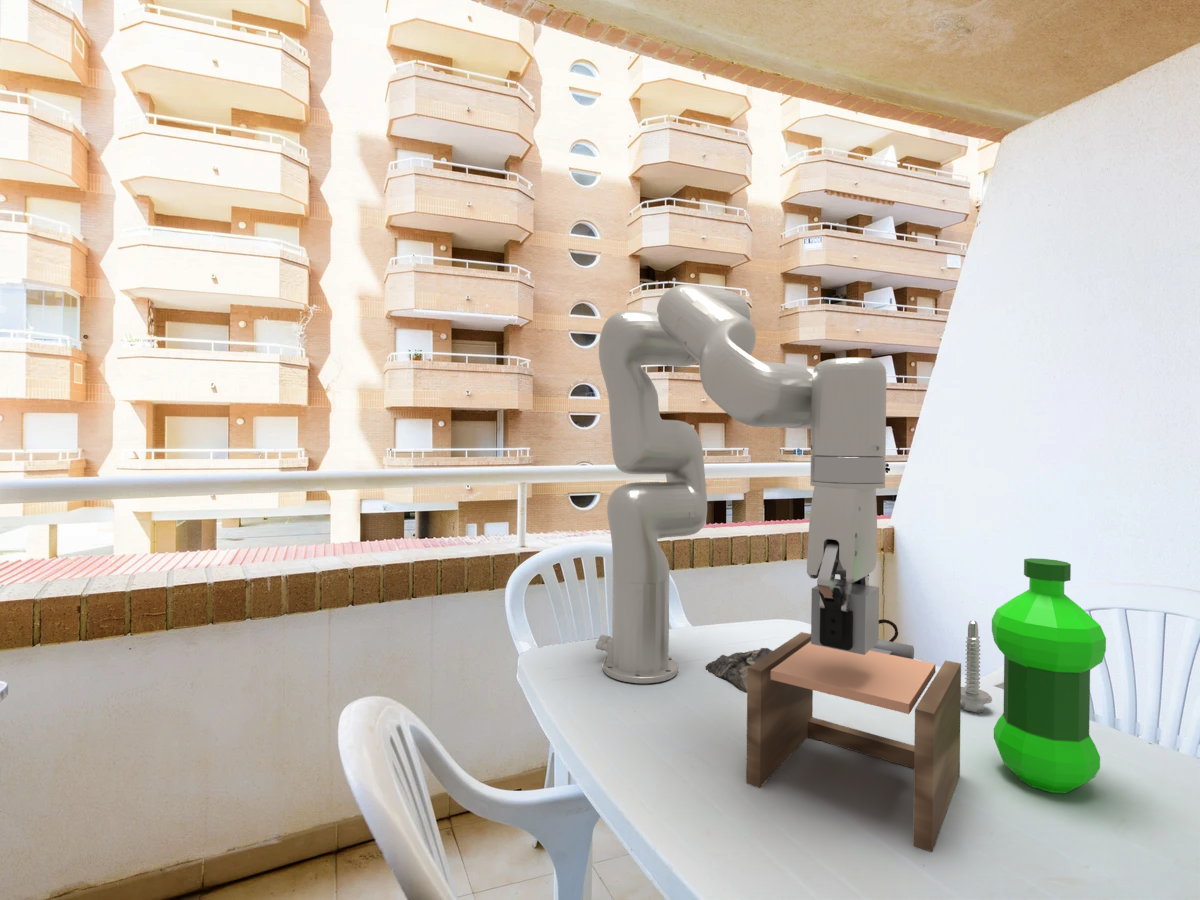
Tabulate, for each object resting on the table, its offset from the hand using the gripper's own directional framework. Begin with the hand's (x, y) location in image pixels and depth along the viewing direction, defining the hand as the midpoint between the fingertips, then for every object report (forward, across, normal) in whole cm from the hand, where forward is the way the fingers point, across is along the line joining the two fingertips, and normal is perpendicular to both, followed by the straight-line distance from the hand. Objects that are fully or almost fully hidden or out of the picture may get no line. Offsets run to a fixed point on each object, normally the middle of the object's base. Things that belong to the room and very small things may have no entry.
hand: (844, 638), depth 66 cm
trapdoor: (+6, -6, 0) cm, 8 cm away
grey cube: (0, 0, 0) cm, 0 cm away
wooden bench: (+17, -3, 0) cm, 17 cm away
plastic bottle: (+17, -17, +17) cm, 30 cm away
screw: (+17, -34, +8) cm, 39 cm away
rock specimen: (+18, -29, -22) cm, 41 cm away
